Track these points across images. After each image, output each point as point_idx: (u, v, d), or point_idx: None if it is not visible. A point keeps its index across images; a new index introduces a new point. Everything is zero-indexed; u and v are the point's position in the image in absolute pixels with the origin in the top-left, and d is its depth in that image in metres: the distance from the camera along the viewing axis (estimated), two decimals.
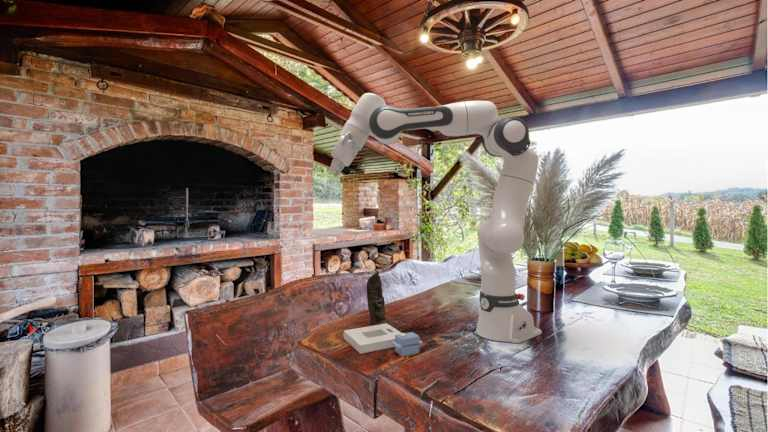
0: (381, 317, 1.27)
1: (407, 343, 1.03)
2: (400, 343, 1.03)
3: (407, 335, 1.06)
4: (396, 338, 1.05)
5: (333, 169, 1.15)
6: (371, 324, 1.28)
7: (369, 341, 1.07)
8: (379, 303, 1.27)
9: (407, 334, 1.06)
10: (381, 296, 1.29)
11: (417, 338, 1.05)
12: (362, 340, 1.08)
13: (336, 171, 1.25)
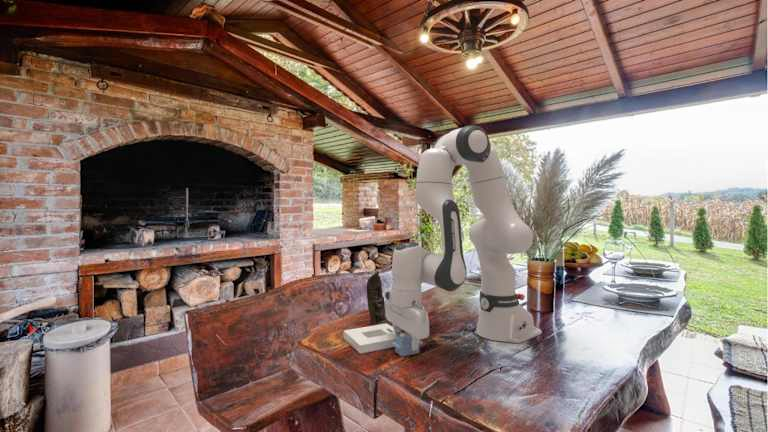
0: (381, 317, 1.27)
1: (407, 343, 1.03)
2: (400, 343, 1.03)
3: (407, 335, 1.06)
4: (396, 338, 1.05)
5: (416, 345, 1.01)
6: (371, 324, 1.28)
7: (369, 341, 1.07)
8: (379, 303, 1.27)
9: (407, 334, 1.06)
10: (381, 296, 1.29)
11: None
12: (362, 340, 1.08)
13: None
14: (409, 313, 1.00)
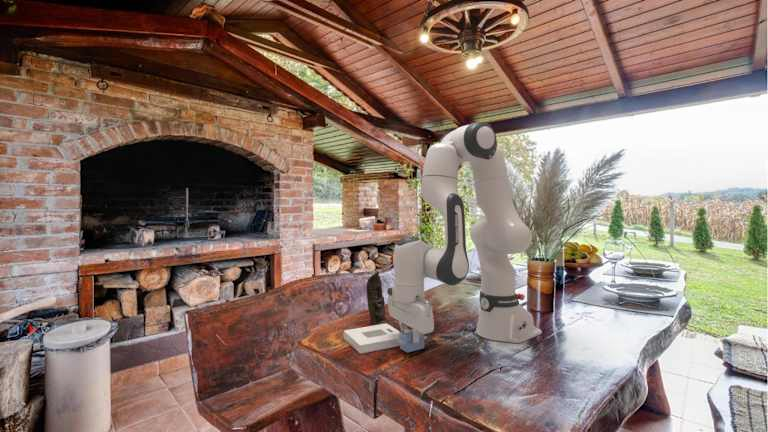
0: (381, 317, 1.27)
1: None
2: (405, 339, 1.03)
3: (411, 331, 1.06)
4: (400, 334, 1.05)
5: (417, 338, 1.02)
6: (371, 324, 1.28)
7: (369, 341, 1.07)
8: (379, 303, 1.27)
9: (411, 330, 1.07)
10: (381, 296, 1.29)
11: (421, 333, 1.05)
12: (362, 340, 1.08)
13: None
14: (413, 308, 1.00)
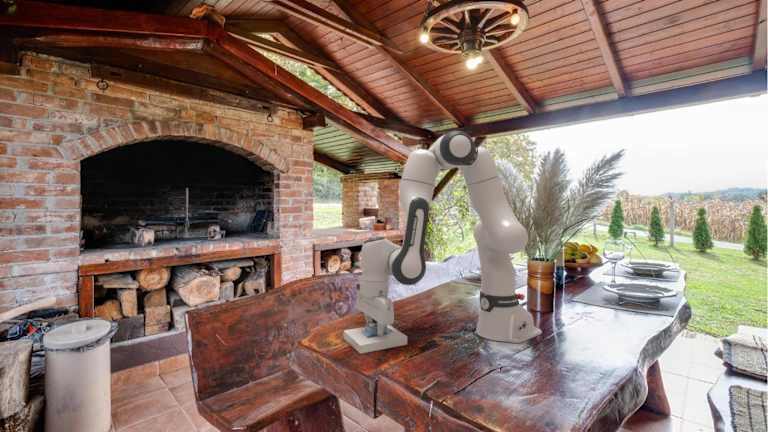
0: None
1: (375, 332, 1.12)
2: (369, 332, 1.12)
3: (376, 325, 1.14)
4: (366, 328, 1.14)
5: (382, 331, 1.10)
6: None
7: (369, 341, 1.07)
8: None
9: (376, 324, 1.15)
10: None
11: (385, 327, 1.13)
12: (362, 340, 1.08)
13: None
14: (376, 302, 1.08)
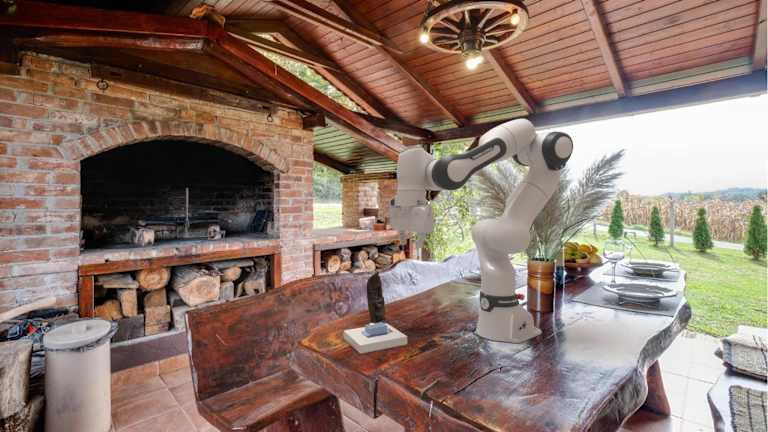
0: (381, 317, 1.27)
1: (375, 332, 1.12)
2: (369, 332, 1.12)
3: (376, 325, 1.14)
4: (366, 328, 1.14)
5: (421, 243, 1.04)
6: None
7: (369, 341, 1.07)
8: (379, 303, 1.27)
9: (376, 324, 1.15)
10: (381, 296, 1.29)
11: (385, 327, 1.13)
12: (362, 340, 1.08)
13: (403, 240, 1.12)
14: (414, 211, 1.03)
